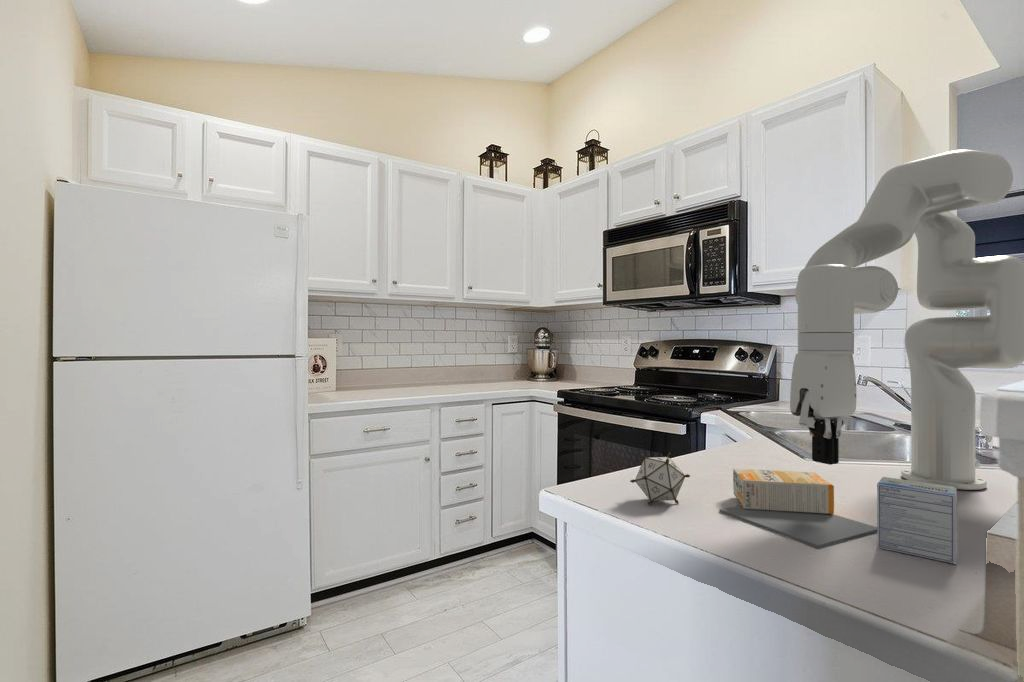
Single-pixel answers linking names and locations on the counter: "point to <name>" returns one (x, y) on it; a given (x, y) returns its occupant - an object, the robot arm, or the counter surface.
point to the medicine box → (917, 518)
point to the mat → (804, 525)
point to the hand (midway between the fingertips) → (825, 462)
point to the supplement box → (783, 491)
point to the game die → (659, 478)
